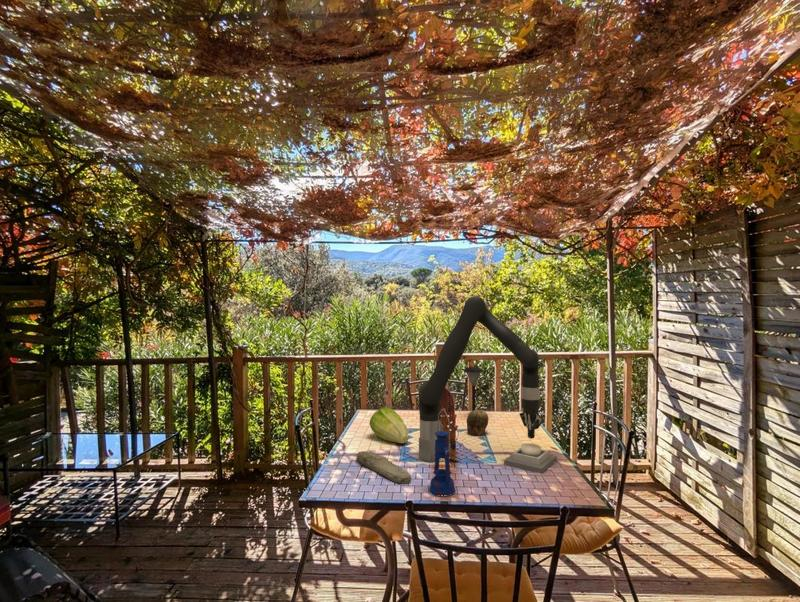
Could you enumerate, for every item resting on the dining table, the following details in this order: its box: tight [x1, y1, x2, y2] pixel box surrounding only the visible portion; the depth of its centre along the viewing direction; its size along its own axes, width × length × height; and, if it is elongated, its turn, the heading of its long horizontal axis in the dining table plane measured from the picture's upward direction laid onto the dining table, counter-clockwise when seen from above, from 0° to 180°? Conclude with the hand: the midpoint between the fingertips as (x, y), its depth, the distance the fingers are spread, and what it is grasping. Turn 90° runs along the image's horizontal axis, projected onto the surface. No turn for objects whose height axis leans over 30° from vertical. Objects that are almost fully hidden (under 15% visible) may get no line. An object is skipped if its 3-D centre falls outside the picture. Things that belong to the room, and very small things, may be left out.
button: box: [520, 443, 542, 457], centre depth 193 cm, size 8×8×3 cm
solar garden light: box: [462, 366, 485, 411], centre depth 256 cm, size 12×12×30 cm
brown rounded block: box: [466, 409, 489, 437], centre depth 233 cm, size 11×11×12 cm
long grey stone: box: [355, 450, 412, 485], centre depth 186 cm, size 35×5×10 cm
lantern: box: [428, 408, 456, 497], centre depth 165 cm, size 11×9×30 cm
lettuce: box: [369, 406, 409, 444], centre depth 225 cm, size 15×24×16 cm
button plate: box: [503, 447, 558, 474], centre depth 193 cm, size 18×16×4 cm
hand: (531, 437), depth 193 cm, fingers closed
